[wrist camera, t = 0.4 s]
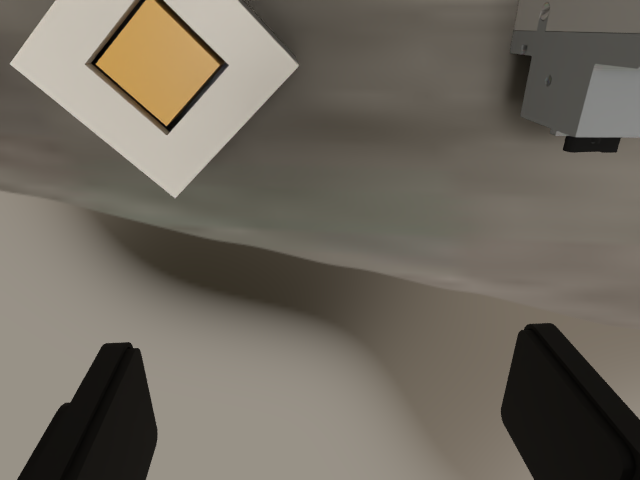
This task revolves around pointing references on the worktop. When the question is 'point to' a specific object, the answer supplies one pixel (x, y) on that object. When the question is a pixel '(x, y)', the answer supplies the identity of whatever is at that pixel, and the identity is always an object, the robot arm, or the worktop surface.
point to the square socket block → (132, 117)
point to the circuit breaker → (582, 69)
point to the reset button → (160, 60)
